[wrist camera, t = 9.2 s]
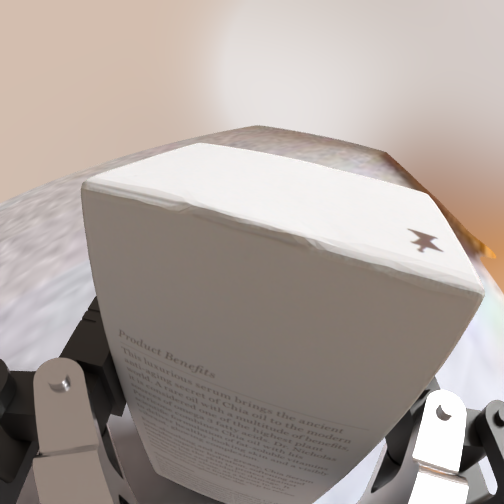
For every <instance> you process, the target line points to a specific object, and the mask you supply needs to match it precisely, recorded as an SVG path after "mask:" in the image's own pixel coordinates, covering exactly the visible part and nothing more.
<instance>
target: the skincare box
mask: <svg viewBox="0 0 504 504" xmlns="http://www.w3.org/2000/svg"><path fill="white" fill-rule="evenodd" d="M81 200H82V210H83V219H84V226H85V233H86V239H87V247H88V254H89V260H90V265H91V270H92V276H93V282H94V286H95V291H96V295H97V299H98V304H99V308H100V313H101V317H102V321H103V326H104V330H105V333H106V337H107V341H108V344H109V348H110V352H111V355H112V358H113V362H114V365H115V368H116V372H117V375H118V378H119V381H120V384H121V387H122V390H123V394H124V397H125V399H126V402H127V405H128V407H129V410H130V413H131V416H132V418H133V421H134V424H135V426H136V429H137V431H138V434H139V436H140V439H141V441H142V444H143V446H144V449H145V451H146V453H147V455H148V458H149V460H150V462H151V464H152V466H153V469H154V471H155V472H156V473H157V474H159V475H161V476H163V477H165V478H167V479H169V480H171V481H173V482H175V483H177V484H180V485H182V486H184V487H186V488H188V489H191V490H193V491H195V492H198V493H200V494H202V495H205V496H207V497H210V498H212V499H215V500H217V501H220V502H223V503H226V504H312V503H314V502H315V501H316V500H317V499H319V498H320V497H321V496H322V495H324V494H325V493H326V492H327V491H329V490H330V489H331V488H332V487H333V486H334V485H336V484H337V483H338V482H339V481H340V480H341V479H343V478H344V477H345V476H346V475H347V474H348V473H349V472H350V471H351V470H352V469H353V468H355V467H356V466H357V465H358V464H359V463H360V462H361V461H362V460H363V459H364V458H365V457H366V456H367V455H368V454H369V453H370V452H371V451H372V450H373V449H374V448H375V447H376V446H377V445H378V444H379V443H380V442H381V441H382V440H383V438H384V437H385V436H386V435H387V434H388V433H389V432H390V431H391V430H392V428H393V427H394V426H395V425H396V424H397V423H398V422H399V421H400V419H401V418H402V417H403V416H404V415H405V413H406V412H407V411H408V410H409V409H410V407H411V406H412V405H413V404H414V403H415V401H416V400H417V399H418V398H419V396H420V395H421V394H422V392H423V391H424V390H425V388H426V387H427V386H428V384H429V383H430V381H431V380H432V379H433V377H434V376H435V374H436V373H437V372H438V371H439V369H440V368H441V367H442V366H443V364H444V363H445V361H446V360H447V358H448V357H449V355H450V354H451V352H452V351H453V349H454V348H455V346H456V344H457V343H458V341H459V340H460V338H461V336H462V335H463V333H464V332H465V330H466V328H467V327H468V325H469V323H470V322H471V320H472V318H473V317H474V315H475V313H476V312H477V310H478V308H479V306H480V304H481V302H482V300H483V298H484V296H485V290H484V287H483V285H482V282H481V280H480V278H479V276H478V274H477V272H476V271H475V269H474V267H473V265H472V263H471V261H470V260H469V258H468V256H467V254H466V253H465V251H464V249H463V247H462V246H461V244H460V242H459V241H458V239H457V237H456V236H455V234H454V232H453V231H452V229H451V227H450V226H449V224H448V222H447V220H446V219H445V217H444V216H443V214H442V213H441V211H440V210H439V208H438V207H437V205H436V204H435V203H434V201H433V200H432V199H431V198H430V197H429V195H428V194H426V193H423V192H420V191H416V190H413V189H410V188H406V187H403V186H399V185H396V184H392V183H389V182H385V181H381V180H377V179H373V178H369V177H366V176H362V175H358V174H354V173H350V172H346V171H342V170H337V169H333V168H329V167H326V166H322V165H318V164H314V163H310V162H306V161H302V160H297V159H293V158H288V157H283V156H278V155H273V154H268V153H262V152H257V151H251V150H245V149H239V148H233V147H227V146H220V145H213V144H206V143H196V144H193V145H189V146H185V147H182V148H178V149H175V150H172V151H169V152H166V153H162V154H159V155H155V156H152V157H149V158H146V159H143V160H140V161H137V162H134V163H131V164H127V165H124V166H121V167H118V168H115V169H112V170H109V171H106V172H103V173H100V174H97V175H95V176H92V177H90V178H88V179H87V180H86V181H85V182H83V183H82V187H81Z"/></svg>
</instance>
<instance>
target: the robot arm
mask: <svg viewBox="0 0 504 504" xmlns="http://www.w3.org/2000/svg"><path fill="white" fill-rule="evenodd" d="M125 405H126V399H125V397H124V394H123V390H122V387H121V384H120V381H119V378H118V375H117V372H116V368H115V365H114V362H113V358H112V355H111V352H110V348H109V344H108V341H107V337H106V333H105V330H104V326H103V321H102V317H101V313H100V308H99V304H98V299H97V296H96V297H95V298H94V300H93V301H92V303H91V304H90V306H89V308H88V311H86V312H85V314H84V316H83V317H82V321H80V322H79V324H78V326H77V327H76V329H75V331H74V332H73V334H72V336H71V337H70V339H69V341H68V342H67V344H66V346H65V348H64V349H63V351H62V353H61V355H60V356H59V358H54V359H51V360H48V361H47V362H45V363H43V364H42V365H41V366H40V367H39V368H38V370H37V371H32V372H30V371H9V369H8V368H7V366H6V364H5V363H4V361H3V360H1V359H0V504H16V501H17V499H18V496H19V494H20V491H21V489H22V486H23V484H24V482H25V479H26V477H27V474H28V472H29V470H30V468H31V465H32V463H33V472H34V477H35V482H36V487H37V492H38V496H39V500H40V504H138V502H137V500H136V498H135V496H134V494H133V492H132V490H131V488H130V486H129V484H128V482H127V479H126V477H125V474H124V471H123V468H122V466H121V463H120V460H119V457H118V454H117V451H116V448H115V444H114V441H113V438H112V435H111V431H110V428H109V425H108V423H107V421H108V418H109V416H110V414H113V415H117V416H121V417H122V414H123V411H124V408H125ZM385 439H386V443H385V445H384V446H383V448H382V451H381V453H380V456H379V459H378V461H377V464H376V466H375V469H374V471H373V474H372V476H371V478H370V481H369V483H368V485H367V487H366V490H365V492H364V494H363V496H362V497H361V499H360V500H359V501H358V502H357V503H356V504H504V402H503V401H500V400H494V401H491V402H490V403H489V404H488V405H487V406H486V407H485V408H484V409H483V410H482V411H479V410H473V409H467V408H465V407H464V405H463V403H462V402H461V400H460V399H459V398H458V397H457V396H456V395H454V394H453V393H450V392H448V391H444V390H441V389H440V387H439V385H438V382H437V380H436V378H435V376H434V377H433V379H432V380H431V381H430V383H429V384H428V386H427V387H426V388H425V390H424V391H423V392H422V394H421V395H420V396H419V398H418V399H417V400H416V401H415V403H414V404H413V405H412V406H411V407H410V409H409V410H408V411H407V412H406V413H405V415H404V416H403V417H402V418H401V419H400V421H399V422H398V423H397V424H396V425H395V426H394V427H393V428H392V430H391V431H390V432H389V433H388V434H387V435H386V436H385ZM39 448H40V452H39V455H36V454H37V452H38V450H39ZM486 455H487V457H488V460H489V462H490V465H491V468H492V470H493V473H494V476H495V478H496V481H497V485H498V488H497V492H496V494H495V495H492V494H490V493H489V491H488V489H487V486H486V483H485V480H484V477H483V474H482V472H481V469H480V466H479V464H478V462H479V461H480V460H481V459H483V458H484V457H485V456H486Z"/></svg>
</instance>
